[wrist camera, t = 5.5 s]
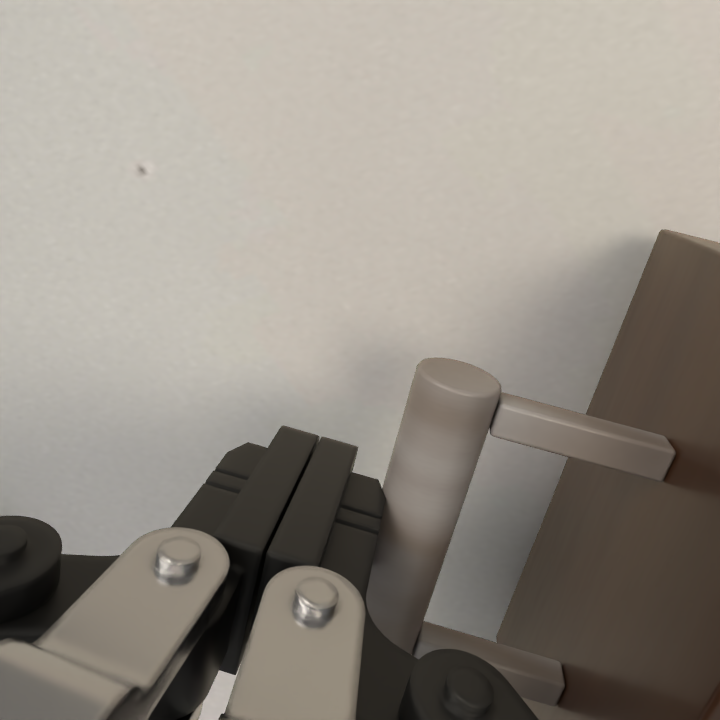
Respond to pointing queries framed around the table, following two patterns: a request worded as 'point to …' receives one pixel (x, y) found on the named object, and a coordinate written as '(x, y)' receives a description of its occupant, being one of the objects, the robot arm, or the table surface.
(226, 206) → the table surface
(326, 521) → the robot arm
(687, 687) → the open drawer
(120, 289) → the table surface
